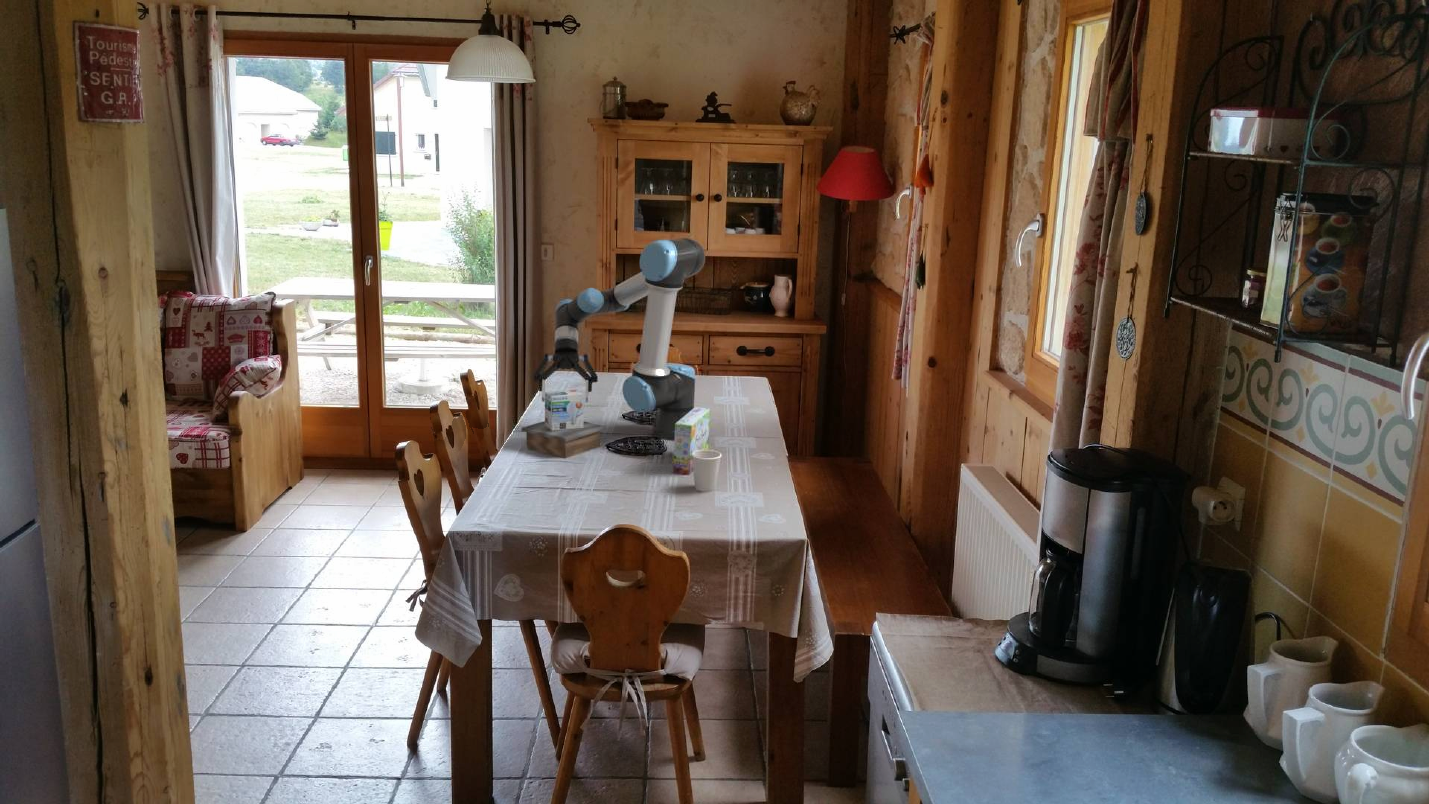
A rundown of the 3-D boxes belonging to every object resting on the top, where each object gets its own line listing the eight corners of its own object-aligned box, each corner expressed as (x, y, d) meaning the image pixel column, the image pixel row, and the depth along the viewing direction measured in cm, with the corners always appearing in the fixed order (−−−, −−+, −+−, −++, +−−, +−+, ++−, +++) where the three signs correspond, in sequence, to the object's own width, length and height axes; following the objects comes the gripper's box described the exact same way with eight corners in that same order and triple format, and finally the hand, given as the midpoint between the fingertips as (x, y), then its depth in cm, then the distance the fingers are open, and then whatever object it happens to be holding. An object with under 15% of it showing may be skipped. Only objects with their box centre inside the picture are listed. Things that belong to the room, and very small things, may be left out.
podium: (605, 446, 335) (605, 426, 334) (565, 459, 321) (565, 438, 319) (561, 435, 345) (561, 416, 343) (521, 448, 330) (521, 427, 329)
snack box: (690, 475, 310) (692, 425, 306) (671, 473, 311) (673, 423, 308) (709, 455, 330) (711, 407, 326) (691, 453, 331) (693, 406, 328)
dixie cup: (709, 495, 294) (711, 460, 291) (684, 489, 298) (685, 454, 296) (725, 487, 301) (727, 453, 298) (700, 481, 305) (701, 447, 303)
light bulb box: (551, 431, 326) (551, 396, 323) (543, 425, 332) (543, 391, 329) (584, 428, 331) (584, 393, 328) (576, 422, 337) (576, 389, 334)
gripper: (605, 350, 354) (604, 406, 344) (528, 349, 352) (525, 405, 341) (605, 337, 348) (605, 393, 337) (526, 336, 345) (524, 393, 334)
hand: (564, 399), depth 339 cm, fingers open, 13 cm apart
